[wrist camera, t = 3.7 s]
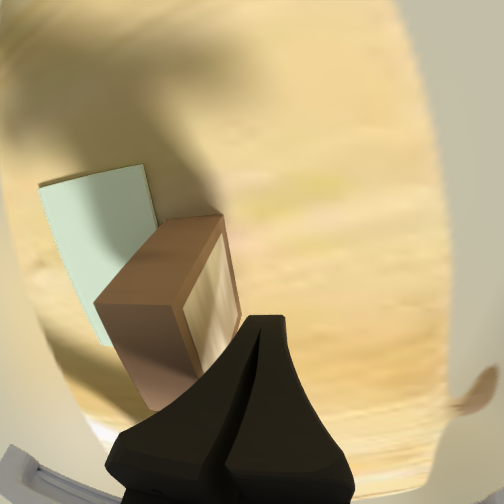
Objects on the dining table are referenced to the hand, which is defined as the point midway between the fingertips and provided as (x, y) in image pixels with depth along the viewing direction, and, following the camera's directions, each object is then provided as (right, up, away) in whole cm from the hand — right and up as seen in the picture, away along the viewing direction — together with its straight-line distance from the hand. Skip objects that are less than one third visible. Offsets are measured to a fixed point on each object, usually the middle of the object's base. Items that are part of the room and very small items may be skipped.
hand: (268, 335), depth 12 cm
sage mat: (-9, +2, +6) cm, 11 cm away
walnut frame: (-3, +2, +5) cm, 6 cm away
